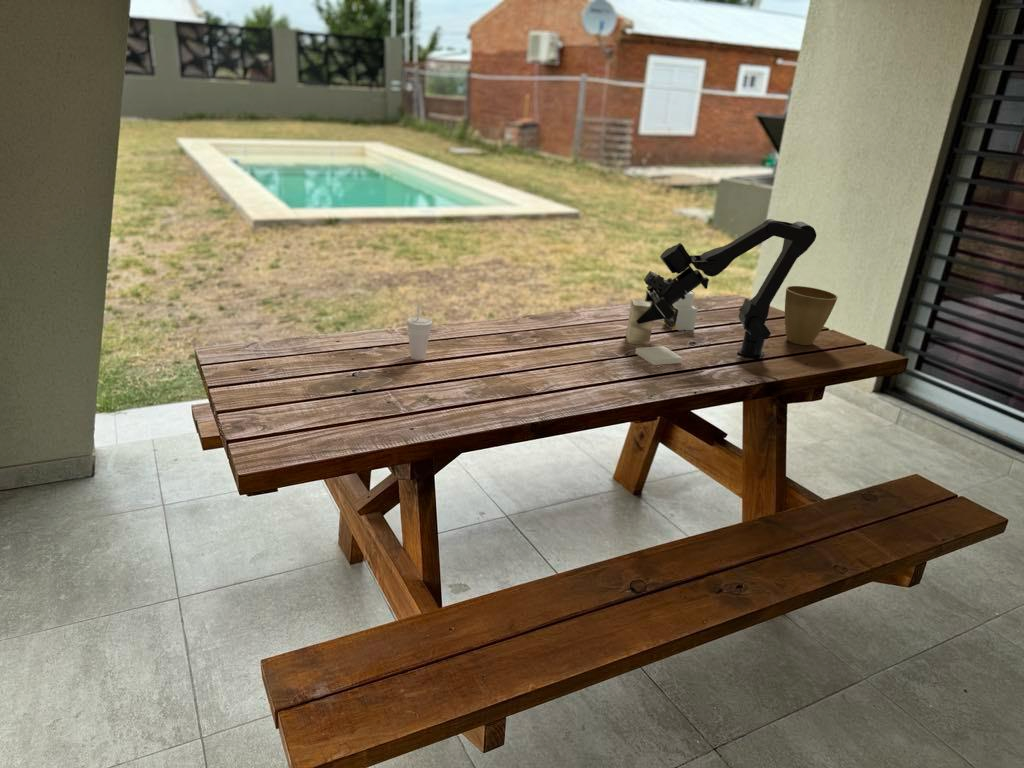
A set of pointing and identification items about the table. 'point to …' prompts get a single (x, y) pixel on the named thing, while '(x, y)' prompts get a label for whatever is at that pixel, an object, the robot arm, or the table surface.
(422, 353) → the smoothie
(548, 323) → the table surface
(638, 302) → the beige rectangular block
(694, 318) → the medicine bottle
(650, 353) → the top slab
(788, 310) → the plant pot
